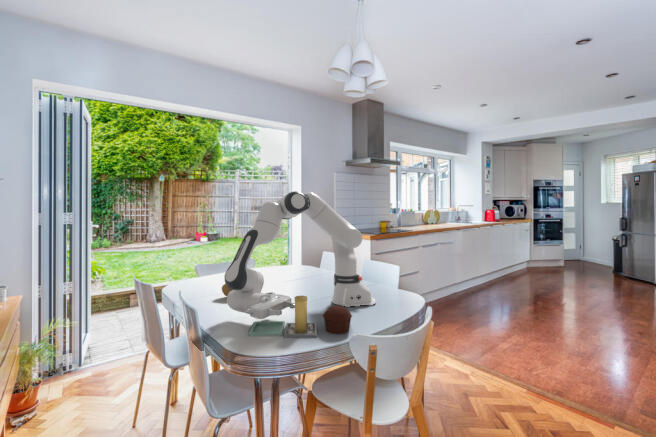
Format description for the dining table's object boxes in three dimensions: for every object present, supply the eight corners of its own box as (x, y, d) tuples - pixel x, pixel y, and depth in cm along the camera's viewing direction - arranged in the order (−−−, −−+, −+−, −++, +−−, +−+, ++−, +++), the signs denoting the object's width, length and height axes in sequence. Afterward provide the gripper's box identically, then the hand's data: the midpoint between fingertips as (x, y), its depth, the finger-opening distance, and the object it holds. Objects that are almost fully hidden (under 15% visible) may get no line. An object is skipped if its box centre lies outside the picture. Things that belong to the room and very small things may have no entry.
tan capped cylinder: (307, 328, 126) (307, 295, 126) (307, 333, 121) (307, 299, 121) (295, 328, 126) (294, 295, 126) (294, 333, 121) (294, 299, 121)
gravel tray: (316, 327, 130) (316, 321, 130) (316, 340, 118) (316, 333, 118) (286, 328, 130) (286, 322, 129) (283, 340, 118) (283, 334, 118)
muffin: (328, 325, 133) (328, 301, 132) (354, 328, 129) (354, 303, 129) (318, 336, 121) (318, 310, 121) (347, 340, 118) (347, 313, 118)
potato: (243, 301, 165) (243, 286, 165) (218, 300, 168) (218, 284, 168) (251, 296, 175) (251, 281, 174) (227, 294, 178) (227, 280, 177)
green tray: (284, 326, 132) (284, 321, 131) (281, 338, 120) (281, 332, 119) (255, 326, 131) (255, 321, 131) (248, 338, 119) (248, 333, 119)
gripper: (242, 303, 124) (271, 309, 117) (275, 291, 142) (301, 295, 135) (242, 319, 124) (271, 326, 117) (275, 305, 142) (301, 310, 135)
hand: (287, 309), depth 126 cm, fingers open, 8 cm apart
